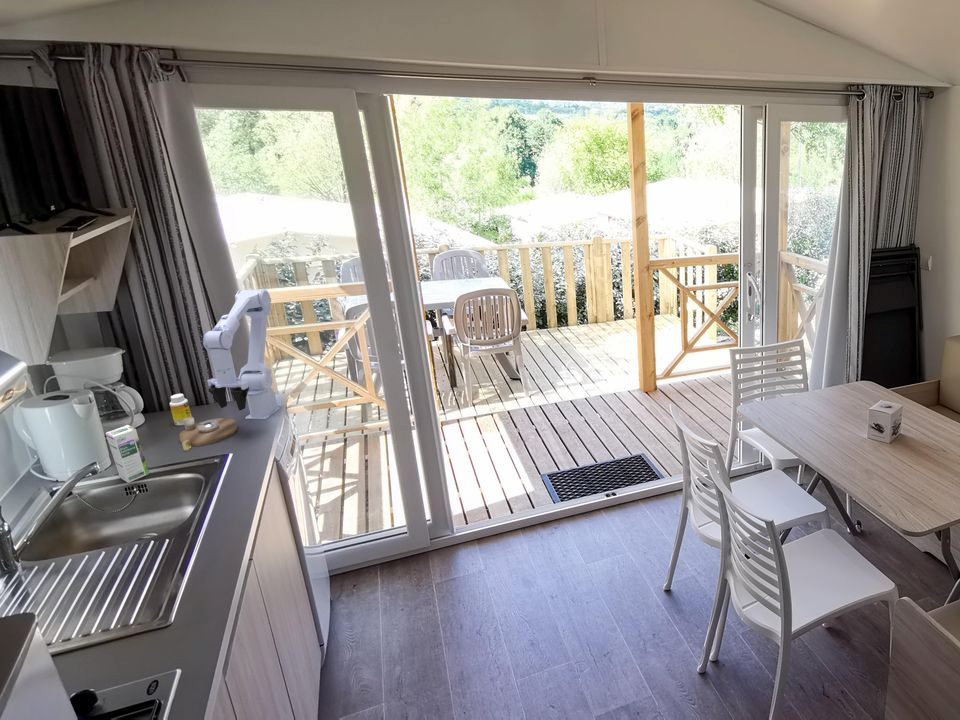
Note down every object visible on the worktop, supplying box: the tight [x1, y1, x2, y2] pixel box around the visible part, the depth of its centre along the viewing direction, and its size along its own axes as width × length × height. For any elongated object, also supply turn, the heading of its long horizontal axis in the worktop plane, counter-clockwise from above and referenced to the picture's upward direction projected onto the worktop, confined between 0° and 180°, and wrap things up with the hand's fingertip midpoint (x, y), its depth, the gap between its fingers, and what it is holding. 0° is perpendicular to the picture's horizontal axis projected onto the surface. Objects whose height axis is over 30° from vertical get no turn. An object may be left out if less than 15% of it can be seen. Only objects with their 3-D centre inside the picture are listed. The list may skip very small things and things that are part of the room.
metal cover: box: [198, 419, 219, 433], centre depth 175 cm, size 6×6×2 cm
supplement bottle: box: [169, 393, 193, 426], centre depth 185 cm, size 6×6×10 cm
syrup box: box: [105, 424, 150, 484], centre depth 150 cm, size 6×6×14 cm
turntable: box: [178, 416, 238, 447], centre depth 175 cm, size 17×17×5 cm
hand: (233, 407), depth 172 cm, fingers open, 7 cm apart
